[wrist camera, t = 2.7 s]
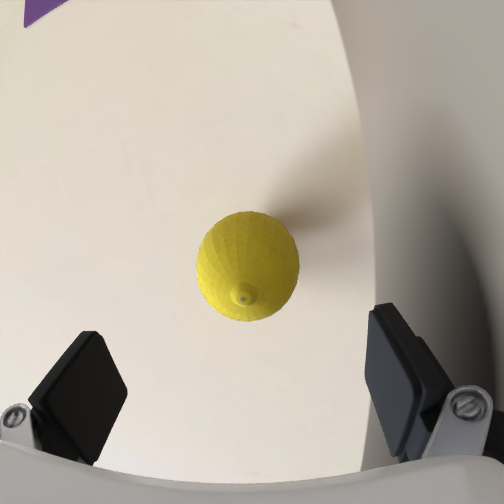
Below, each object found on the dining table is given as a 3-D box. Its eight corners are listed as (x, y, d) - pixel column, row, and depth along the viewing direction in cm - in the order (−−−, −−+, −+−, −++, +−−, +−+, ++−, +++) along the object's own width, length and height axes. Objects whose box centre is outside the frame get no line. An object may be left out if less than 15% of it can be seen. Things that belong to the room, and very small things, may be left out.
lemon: (206, 203, 20) (170, 241, 12) (291, 197, 19) (308, 233, 12) (215, 280, 22) (191, 350, 14) (294, 276, 21) (307, 346, 14)
